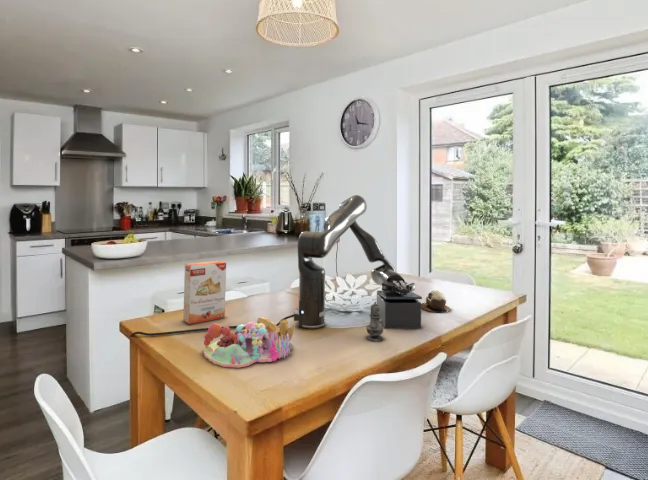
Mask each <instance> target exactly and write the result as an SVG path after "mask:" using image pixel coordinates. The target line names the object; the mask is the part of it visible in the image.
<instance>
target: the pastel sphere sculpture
mask: <svg viewBox="0 0 648 480" xmlns="http://www.w3.org/2000/svg"><path fill="white" fill-rule="evenodd" d="M281 320H282V319H281ZM279 321H280V320H279ZM276 324H277V323H274V322H272V321H271V320H270V319H269V318H267V317H265V316H260V317H258V318H257V320H256V321H253V320H250V321H248V322H247V323H246V324H238V325H236V326H237V328H235V330H234V333H233V332H232V330H231V328H229V327H225V326H222V325H221V324H219V323H215V322H214V323H212V324H210V325H209V327H207V328H208V330H207V332H206V333H205V334H204V340H203V345H204V348H203V356H204V358H206V359H208V361H209V362H212V364H214V365H217V366H220V367H223V368H240V369H241V368H246V367H249V366H250V365H253V364H254V363H266V362H267V363H271V362H276V361H277V360H278V359H279V360H281V359H286V356H287V357H288V355H290V353H291V350H292V349H293V348H294V345H293V342H290V341H291V340H292V337H293V335H294V334H295V333H294V332H295V327H296V326H289V320H288V319H286V320H282V321H280V325H278V326H276ZM222 327H224V328H223V329H222ZM221 336H222V337H221ZM218 338H220V339H219V340H217V341H214V342H212V341H213V340H214V339H218ZM211 342H212V343H211Z"/></svg>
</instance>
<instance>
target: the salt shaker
mask: <svg viewBox="0 0 648 480" xmlns="http://www.w3.org/2000/svg"><path fill="white" fill-rule="evenodd" d="M379 313H380V307H379V305H377V301H374V303H373V304H371V305H370V314H369V317H370V318H369V319H370V320H369V324H367V325H366V326H365V329H366V332H367V334H368V335H367V336H366V340H368V341H371V342H381V341H383V340H384V338H383V336H381V335H382V334H383V332H384V330H385V328H384V326H383V325H382V324H381V322H380V317H381V316H380V315H379Z"/></svg>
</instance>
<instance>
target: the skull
mask: <svg viewBox="0 0 648 480" xmlns="http://www.w3.org/2000/svg"><path fill="white" fill-rule="evenodd" d="M446 304H447V299H446V295H444V293H442V291H440V290H438V289H433V290H431V291H429V292H428V294H427V295H426V297H425V301H424V302H421V309H422V310H425V311H428V312H432V313H438V314H439V313H440V314H441V313H442V314H443V313H447V312H450V311H451V308H450V307H449V306H448V305H446Z"/></svg>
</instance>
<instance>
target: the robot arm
mask: <svg viewBox="0 0 648 480" xmlns="http://www.w3.org/2000/svg"><path fill="white" fill-rule="evenodd" d="M367 205H368V204H367V202H366V200H365V198H364V197H362V196H361V195H358V194H356V195H355V194H354V195H351V196H350V197H348V198H347V199H345V200H344V201H342V202H340V203H339V205H338V206H339V207H338V209H336V210H334V211H333V212H331V213H330V214H329V215H328V216H327V217H326V218H325V219H324V221H323V231H302V232H301V233H300V234H299V236H298V239H297V268H298V277H299V279H298V309H293V314H290V315H288V316H285V317H283V318H281V319H280V320H279V321H278V322H277V323H275V324H276V326H277V327H279V325H280V321H282V320H288V319H291V318H293V322H297V324H298V325H297V326H298V328H304V329H308V330H309V329H311V330H313V329H314V330H315V329H320V328H323V327H324V326H326V325H325V323H326V322H325V320H326V319H325V316H326V314H327V313H326V310H325V307H326V270H325V268H324V267H322V266H321V265H319V264H317V263H316V262H315V261H314V260H313V259H323V258H326V257H327V256H328V255H329V254H330V252H331V251H332V250H333V248H334V246H335V245H336V243H337V242H338V240H340V238H341V237H342V236H343V235H344V234H345V233H346V232H347V231H348V230H349V229H350V231H351V232H352V233H353V235H354V236H355V238H356V239H357V241H358V243H359V245H360V246H361V248H362V251H363V253H364V255H365V257H366V259H367V261H368V262H369V263H370V264H372V263H373V264H374V263H377V262H379V263H382V264H381V265H379V266H377V267H374V268H373V269H372V270H371V272H370V276H371V279H372V281H373V283H375V284H376V285H378V286H381V291H388V292H392V293H400V294H401V295H407V294H408V293H410V292H414V291H415V290H416V289H415V288H416V283H415V282H411V283H408V282H406V281H405V278H404V277H403V276H402V275H401V274H399V273H398V272H397V270H396V268H395V267H394V265H393V264H392V263H391V262H390V261H389V260H388V258H387V257H386V256H385V254H384V253H383V251H382V249H381V246H380V245H379V243H378V241H377V239H376V238H375V237H374V236H373V235H372V234H370V233H369V232H367V231H366V230H365V229H363V227H361V226H360V224H358V222H357V219H358V218H359V217H361V216H362V215H364V214H365V213H366V211H367V207H368V206H367ZM237 326H238V325H225V326H221V327H222V329H223V328H224V327H229V328H230V329H236V328H237ZM208 328H209V327H202V328H201V327H200V328H192V329H183V330H173V331H172V330H171V331H163V332H143V331H134V332H133V333H131V334H130V335H129V337H134V336H135V335H143V336H146V337H147V336H163V335H172V334H173V335H174V334H182V333H183V334H184V333H193V332H200V331H202V332H203V331H208Z"/></svg>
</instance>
